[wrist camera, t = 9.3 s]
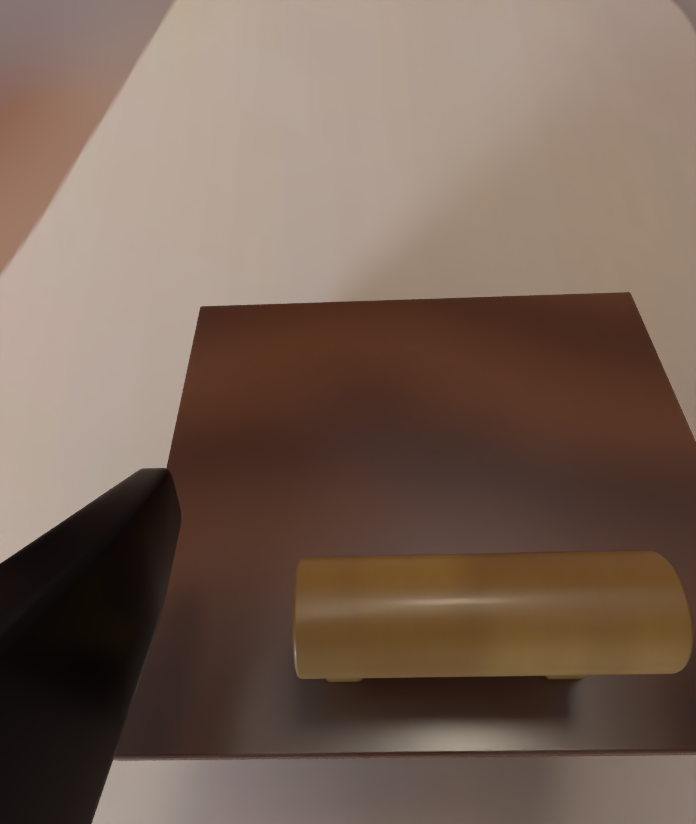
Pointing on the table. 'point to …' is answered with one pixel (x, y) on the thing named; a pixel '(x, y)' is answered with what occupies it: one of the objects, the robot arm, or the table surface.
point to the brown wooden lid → (426, 537)
